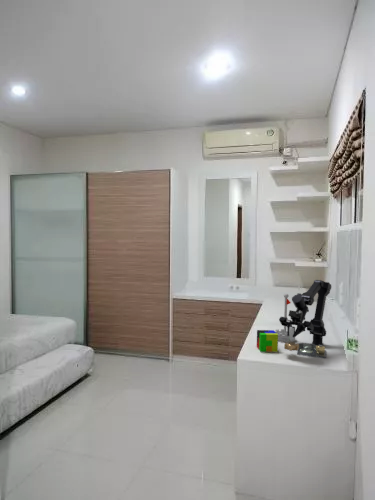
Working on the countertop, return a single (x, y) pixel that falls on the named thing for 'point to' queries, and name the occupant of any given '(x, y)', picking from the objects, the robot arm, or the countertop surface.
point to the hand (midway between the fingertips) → (290, 336)
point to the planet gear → (291, 340)
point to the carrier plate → (311, 350)
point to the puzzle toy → (267, 341)
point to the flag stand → (283, 333)
